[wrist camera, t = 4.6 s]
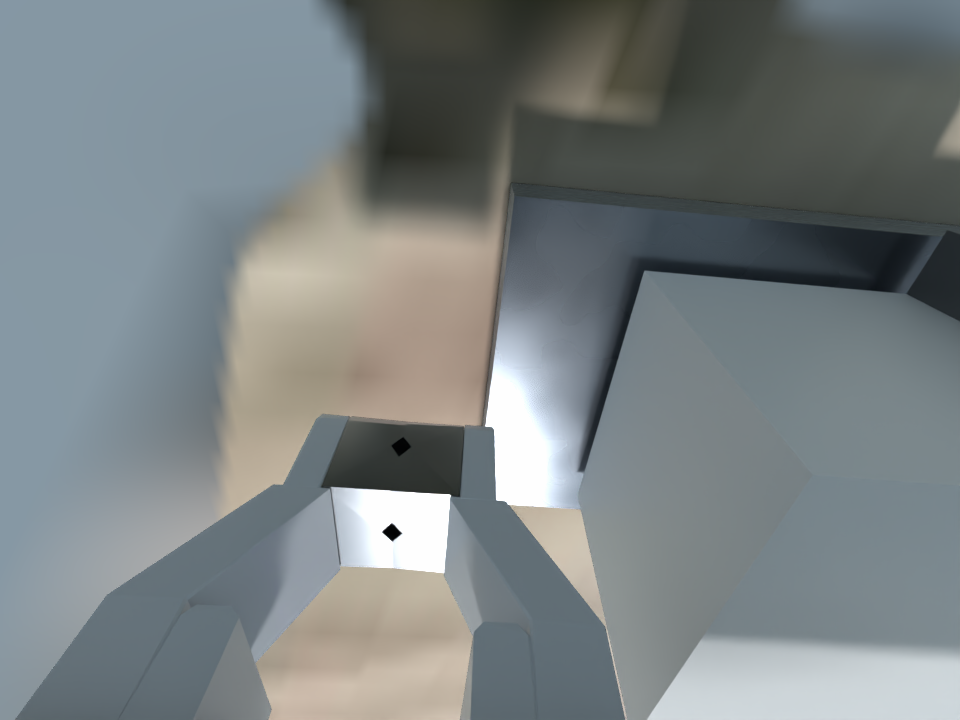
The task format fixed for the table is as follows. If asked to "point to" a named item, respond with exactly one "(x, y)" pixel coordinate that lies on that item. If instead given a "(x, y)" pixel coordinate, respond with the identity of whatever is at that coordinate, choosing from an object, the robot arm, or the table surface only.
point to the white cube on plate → (783, 499)
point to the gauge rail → (611, 297)
